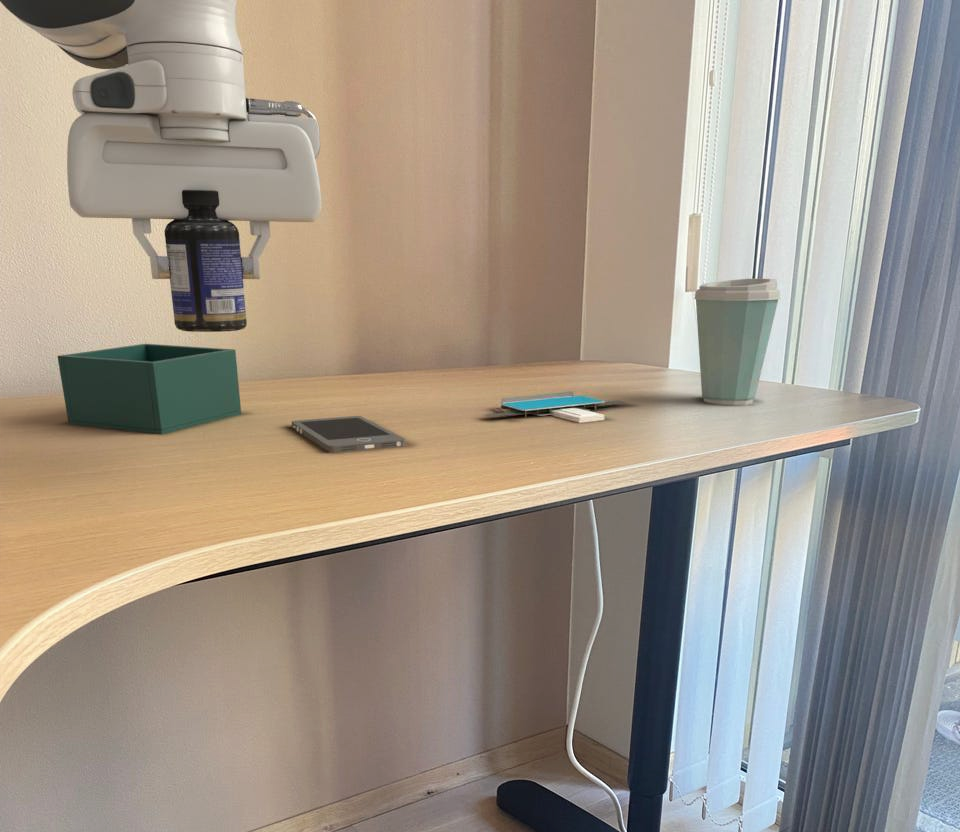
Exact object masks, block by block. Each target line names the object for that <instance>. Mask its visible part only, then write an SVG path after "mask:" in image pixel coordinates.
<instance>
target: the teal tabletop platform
mask: <svg viewBox="0 0 960 832" xmlns="http://www.w3.org/2000/svg"><path fill="white" fill-rule="evenodd" d="M623 403H625V401H624V400H618V399H617V400H610V401H609V400H608V401H605V400H603V399H598V398H594V397H590V396H585V395H574V391H573V390H572V391H564V392H554V393H553V392H551V393H542V394H533V395H532V394H531V395H522V396H511V397H502V398H501V399H500V401H499V404H500V407H501V408H497V407H496V408H494V411H496V413H486V414H485V416H488V417H491V418H492V417H493V418H494V417H501V416H502V417H503V416H508V417H509V416H519V415H525V416H524V417H525V418H527V415H535V416H537V417H541V416H542V417H543V416H552V417H557V418H560V419H563V420H567V421H572V422H575V423H579V424H580V423H581V424H582V423H589V422H598V421H605V414H602V413H599V412H595V411H591V410H590V409H588V408H594V410H597V407H602V406H611V405H612V406H613V405H614V404H623ZM497 412H498V413H497Z"/></svg>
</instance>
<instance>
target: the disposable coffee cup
mask: <svg viewBox="0 0 960 832" xmlns="http://www.w3.org/2000/svg"><path fill="white" fill-rule="evenodd" d="M693 299H694V300H695V309H696V322H697V325H696V326H697V340H698V353H699V354H698V355H699V372H700V386H701V397H703V402H705V403H707V404H713V405H720V406H747V405H751V404H753V401H754V399H755V398H756V395H757V391H758V387H759V383H760V378H761V375H762V374H761V373H762V370H763V366H764V361H765V356H766V353H767V349H768V344H769V341H770V336H771V332H772V328H773V323H774V321H775V320H774V319H775V316H776V311H777V307H778V302H779V300H781V290H780V289H779V288H778V279H777V278H741V279H739V278H738V279H729V280H721V281H713V282H708V283H702V284H700V285H699V288H698V289H696V290H695V292H694V298H693Z"/></svg>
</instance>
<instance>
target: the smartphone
mask: <svg viewBox="0 0 960 832" xmlns="http://www.w3.org/2000/svg"><path fill="white" fill-rule="evenodd" d="M291 429H293V430H295V431H296V432H297V433H299V434H300V435H302V436H303V437H305V438H307V439H308V440H309V441H311V442H313V443H314V444H316V445H317V446H318V447H320V448H322V449H323V450H324V451H326V452H328V453H330V454H335V453H347V452H357V451H368V450H369V451H370V450H379V449H390V448H402V447H406V438H404V437H402V436H400V435H399V434H397V433H395V432H393V431H391V430H389V429H387V428H385V427H383V426H381V425H379V424H377V423H376V422H373V421H371V420H369V419H367V418H365V417H363V416H361V415H349V416H336V417H324V418H312V419H298V420H292V421H291Z"/></svg>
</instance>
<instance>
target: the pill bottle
mask: <svg viewBox="0 0 960 832" xmlns="http://www.w3.org/2000/svg"><path fill="white" fill-rule="evenodd" d="M182 203H183V205H184V208H186V209H188V216H187V217H186V218H184V219H172V220H171V221H170V222H168V223H167V224H166V225H165V228H164V242H165V249H166V256H168V257H169V267H168V269H169V270H170V276H171V279H169V285H170V294H171V302H172V312H173V320H174V325H175V328H176V329H177V330H178V331H179V330H180V331H182V332H190V333H191V332H192V333H193V332H194V333H195V332H196V333H208V332H209V333H221V332H236V331H242V330H244V329H246V327H247V321H248V319H247V311H246V301H245V300H246V299H245V288H244V287H245V286H244V279H243V276H242V264H241V257H242V254H241V252H242V251H241V240H240V239H241V238H240V232H239V229H238V227H237V226H236V225H235V224H234V223H233V222H232V221H228V220H221V219H219V218H218V217H217V214H216V211H215V210H216V208H217V207H218V206H219V194H218V191H213V190H182Z"/></svg>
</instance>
